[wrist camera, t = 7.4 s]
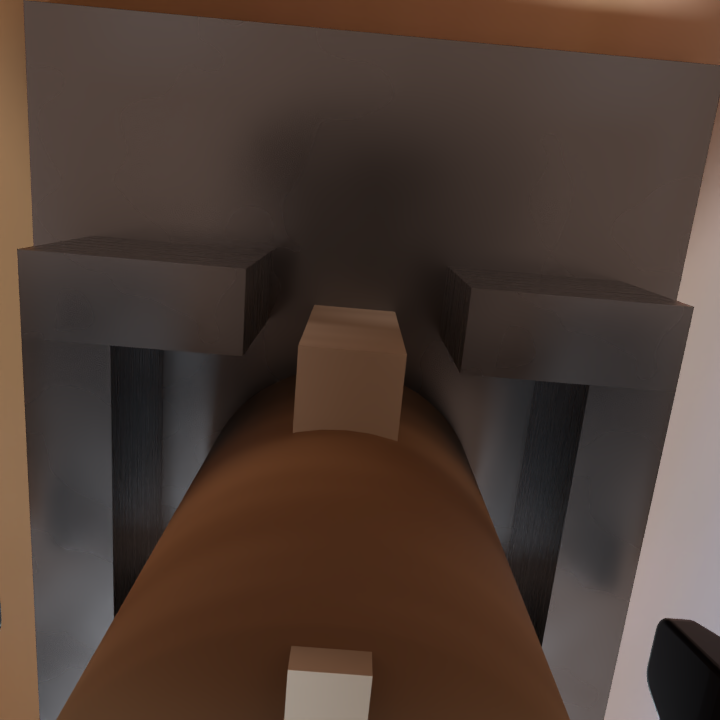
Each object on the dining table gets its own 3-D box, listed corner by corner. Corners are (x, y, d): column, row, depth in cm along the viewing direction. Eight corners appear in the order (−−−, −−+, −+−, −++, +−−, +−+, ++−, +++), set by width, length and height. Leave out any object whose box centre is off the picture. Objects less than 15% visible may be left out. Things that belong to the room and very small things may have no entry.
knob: (201, 603, 13) (7, 1108, 6) (209, 295, 11) (-40, 476, 4) (454, 622, 13) (566, 1143, 6) (498, 320, 11) (720, 534, 4)
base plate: (73, 782, 15) (-6, 945, 12) (47, 13, 11) (-84, -60, 8) (549, 816, 15) (600, 983, 12) (700, 74, 11) (838, 28, 8)
